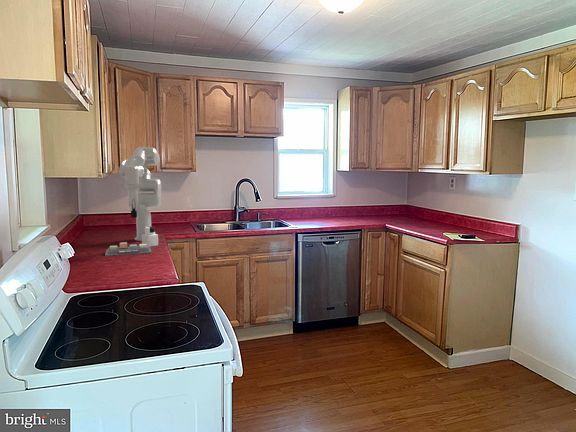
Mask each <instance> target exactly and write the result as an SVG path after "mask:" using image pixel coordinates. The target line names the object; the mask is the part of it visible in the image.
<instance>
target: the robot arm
mask: <svg viewBox="0 0 576 432" xmlns="http://www.w3.org/2000/svg"><path fill="white" fill-rule="evenodd" d="M133 150H134V151H133V153H132V156H130V157H128V158H125V159H124V160H123V161H121V163H120V164H119V165H120V166H119V168H118V172H119V176H120V177H122V178H124V179H125V190H126V191H127V204H128V205H127V206H128V207H130V209H131V210H130V216H131V218H136V219H135V222H136V237H134V241H136V242H137V241H138V242H139V241H140V242H142V235H143V234H145V227H152V214H151V211H150V210H149V209H148V208H158V207H161V205H162V181H161V180H160V179H159V178H151V176H152V173H151V171H150V170H149V169H148V168H147V166H158V165H160V161H161V158H160V155H159V153H158V150H157V149H156V148H154V147H147V146H146V147H142V146H140V147H136V148H134V149H133ZM138 192H139V193H138ZM154 234H156V232H155V233H154Z"/></svg>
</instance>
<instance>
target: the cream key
mask: <svg viewBox="0 0 576 432" xmlns="http://www.w3.org/2000/svg"><path fill="white" fill-rule="evenodd" d="M138 246H139V248H146V247H147V244H142V243H139V245H138Z"/></svg>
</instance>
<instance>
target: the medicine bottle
mask: <svg viewBox="0 0 576 432" xmlns="http://www.w3.org/2000/svg"><path fill="white" fill-rule="evenodd" d="M154 233H155V234H154ZM141 244H147V246H148V247H150V248H152V247H157V246H159V234H157V233H156V228H155V226H151V227H145V234H143V235H142V241H141Z"/></svg>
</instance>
